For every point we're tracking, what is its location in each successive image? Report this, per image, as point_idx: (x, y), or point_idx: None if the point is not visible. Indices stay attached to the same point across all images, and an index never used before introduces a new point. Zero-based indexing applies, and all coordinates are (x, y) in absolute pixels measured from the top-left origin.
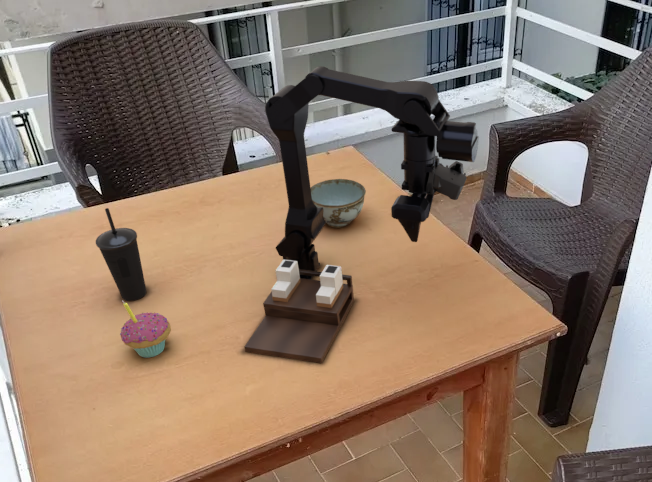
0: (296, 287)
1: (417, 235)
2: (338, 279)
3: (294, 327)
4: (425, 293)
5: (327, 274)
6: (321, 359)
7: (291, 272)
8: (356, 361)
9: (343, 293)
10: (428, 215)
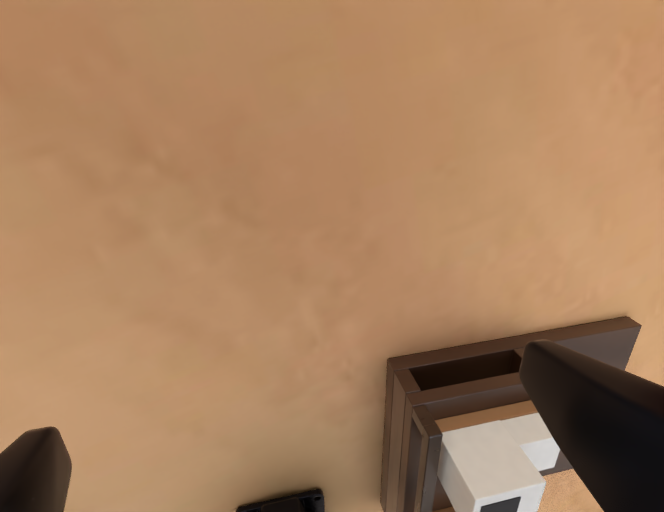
0: (449, 509)
1: (650, 383)
2: (495, 461)
3: None
4: (286, 161)
5: (527, 506)
6: (636, 322)
7: None
8: (631, 246)
9: (463, 405)
10: (36, 451)
